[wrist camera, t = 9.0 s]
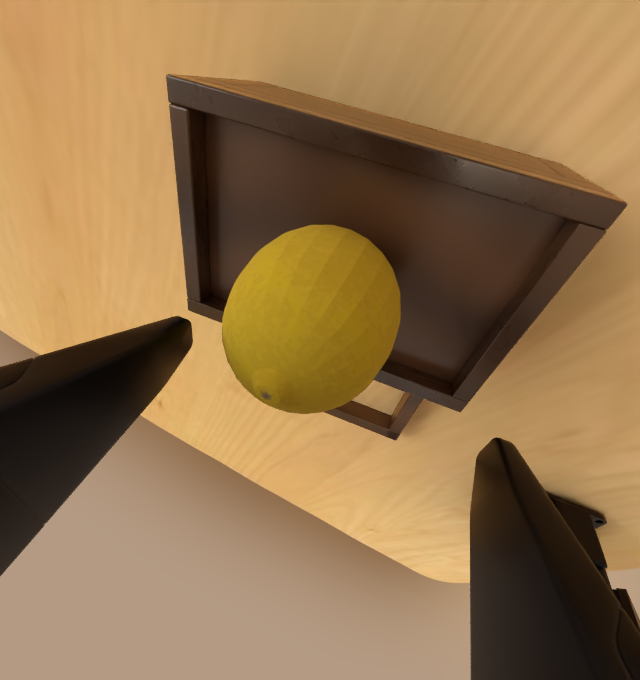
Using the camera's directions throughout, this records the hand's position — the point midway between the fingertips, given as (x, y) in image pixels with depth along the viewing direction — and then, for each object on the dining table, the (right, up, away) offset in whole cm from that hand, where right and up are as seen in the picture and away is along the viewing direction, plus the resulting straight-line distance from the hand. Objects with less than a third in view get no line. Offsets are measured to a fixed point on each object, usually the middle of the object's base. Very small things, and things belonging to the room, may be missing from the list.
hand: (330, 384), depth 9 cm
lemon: (+1, +5, +5) cm, 7 cm away
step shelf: (+2, +4, +13) cm, 13 cm away
